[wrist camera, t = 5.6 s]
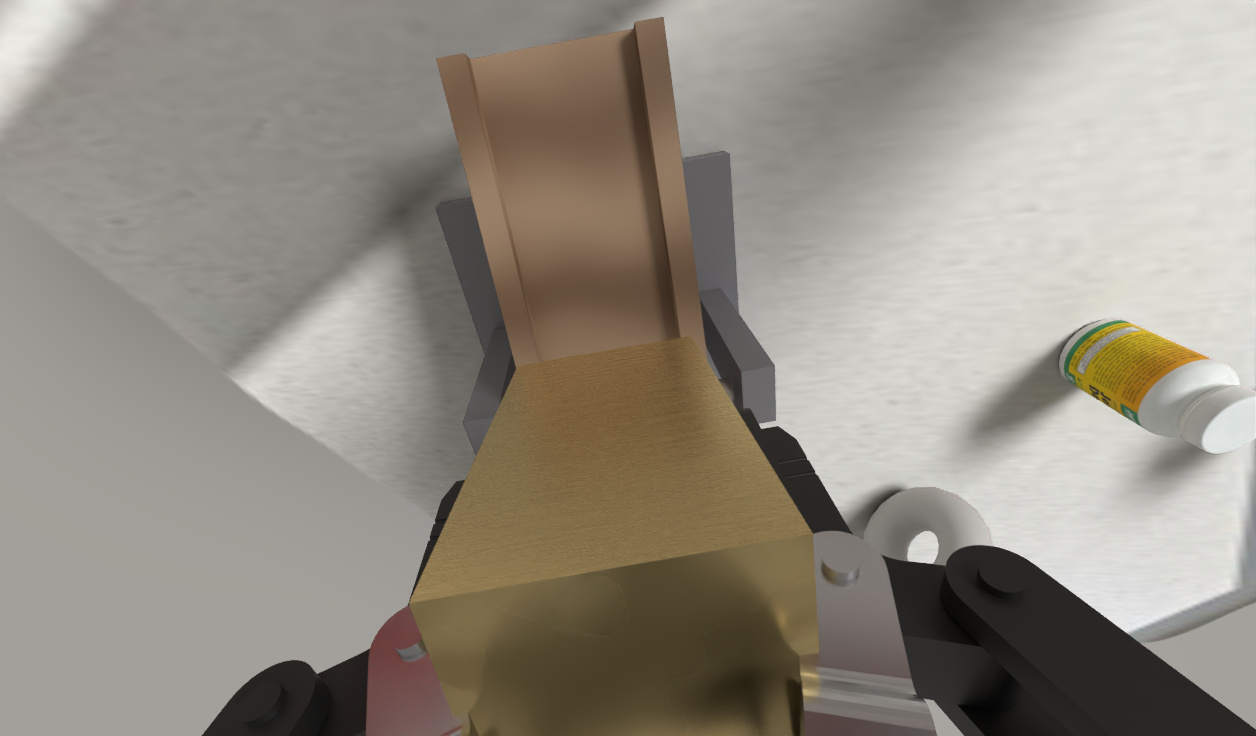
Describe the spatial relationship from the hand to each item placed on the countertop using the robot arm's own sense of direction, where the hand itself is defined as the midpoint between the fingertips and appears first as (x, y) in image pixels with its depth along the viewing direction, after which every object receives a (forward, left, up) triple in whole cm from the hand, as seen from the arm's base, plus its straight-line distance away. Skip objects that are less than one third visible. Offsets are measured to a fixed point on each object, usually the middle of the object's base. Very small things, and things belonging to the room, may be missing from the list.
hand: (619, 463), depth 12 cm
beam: (+6, 0, -12) cm, 14 cm away
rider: (+1, 0, -2) cm, 2 cm away
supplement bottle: (+15, +34, -22) cm, 43 cm away
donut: (+27, +20, -22) cm, 40 cm away
